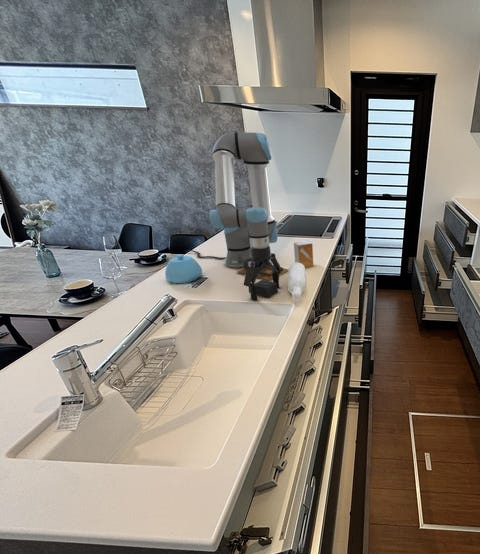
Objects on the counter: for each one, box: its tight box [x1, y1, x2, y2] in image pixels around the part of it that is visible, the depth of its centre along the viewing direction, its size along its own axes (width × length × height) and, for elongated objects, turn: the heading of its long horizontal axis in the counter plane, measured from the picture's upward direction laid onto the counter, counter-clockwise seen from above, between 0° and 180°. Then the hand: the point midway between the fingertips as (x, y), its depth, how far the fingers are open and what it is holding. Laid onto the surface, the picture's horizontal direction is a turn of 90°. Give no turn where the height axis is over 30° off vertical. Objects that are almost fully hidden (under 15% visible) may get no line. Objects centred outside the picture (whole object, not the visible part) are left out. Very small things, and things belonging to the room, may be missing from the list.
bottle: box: [287, 262, 307, 303], centre depth 134 cm, size 8×8×30 cm
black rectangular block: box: [254, 279, 279, 299], centre depth 131 cm, size 8×6×5 cm
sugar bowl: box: [164, 253, 203, 284], centre depth 142 cm, size 15×15×12 cm
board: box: [237, 258, 289, 281], centre depth 153 cm, size 20×14×6 cm
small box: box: [293, 240, 314, 269], centre depth 161 cm, size 8×6×13 cm
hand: (265, 293), depth 132 cm, fingers open, 13 cm apart
